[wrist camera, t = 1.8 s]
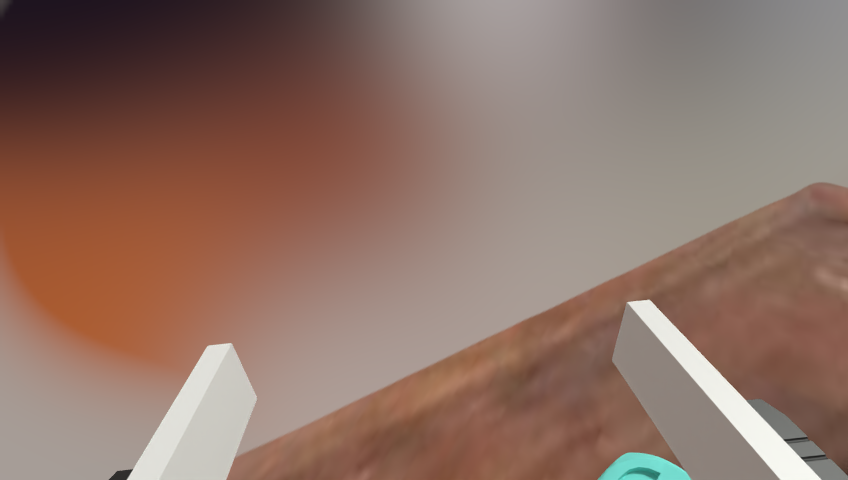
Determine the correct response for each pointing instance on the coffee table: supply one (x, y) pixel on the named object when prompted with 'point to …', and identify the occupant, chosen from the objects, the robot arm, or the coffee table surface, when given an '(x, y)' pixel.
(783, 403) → the coffee table surface
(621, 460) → the decorative dice
